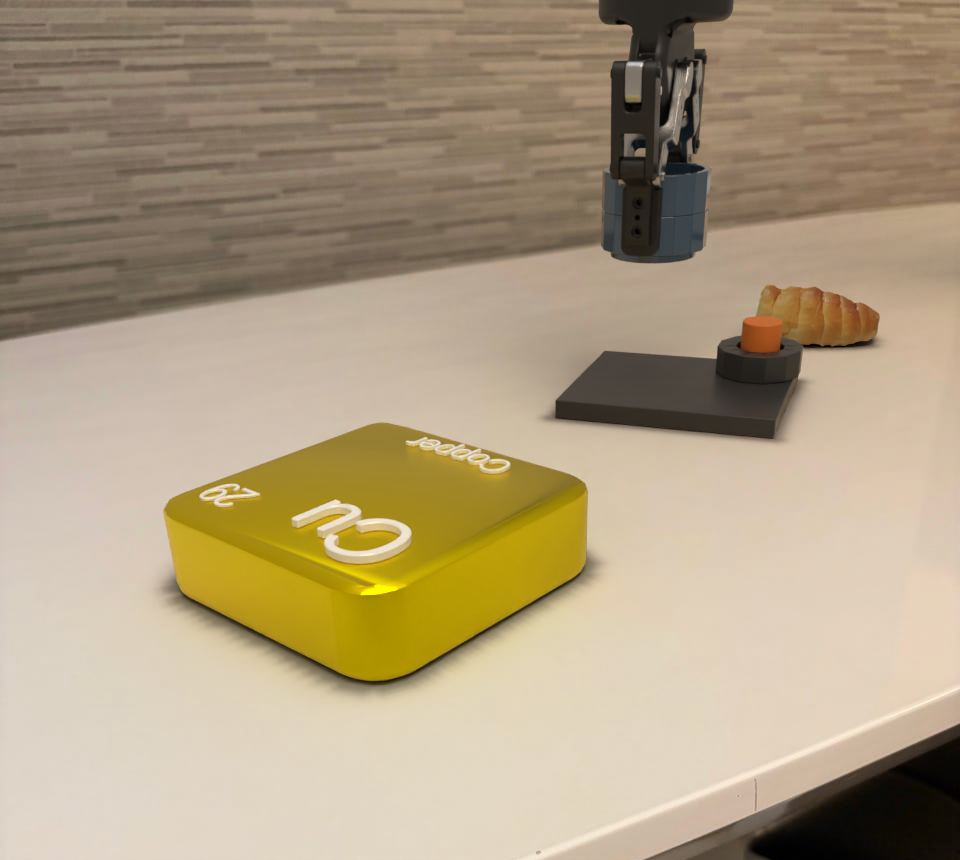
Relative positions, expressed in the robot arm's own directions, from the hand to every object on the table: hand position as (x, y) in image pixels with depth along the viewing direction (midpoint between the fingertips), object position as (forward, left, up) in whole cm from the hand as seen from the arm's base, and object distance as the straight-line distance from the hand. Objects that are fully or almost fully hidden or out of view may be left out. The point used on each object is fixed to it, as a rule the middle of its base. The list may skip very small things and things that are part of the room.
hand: (653, 242), depth 67 cm
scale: (-2, -1, -10) cm, 11 cm away
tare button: (-7, -5, -8) cm, 11 cm away
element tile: (+6, +29, -10) cm, 31 cm away
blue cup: (0, 0, -1) cm, 1 cm away
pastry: (-8, -19, -10) cm, 23 cm away
